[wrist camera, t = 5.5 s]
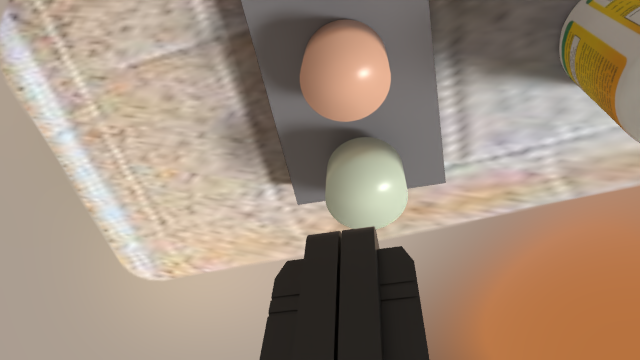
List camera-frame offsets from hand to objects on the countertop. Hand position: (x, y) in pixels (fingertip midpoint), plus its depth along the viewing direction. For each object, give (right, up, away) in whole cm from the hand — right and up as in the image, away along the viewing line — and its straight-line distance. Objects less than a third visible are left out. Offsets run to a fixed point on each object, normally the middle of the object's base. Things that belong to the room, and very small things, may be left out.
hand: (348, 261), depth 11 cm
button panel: (+1, +8, +14) cm, 16 cm away
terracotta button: (0, +7, +12) cm, 14 cm away
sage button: (+2, +2, +14) cm, 14 cm away
